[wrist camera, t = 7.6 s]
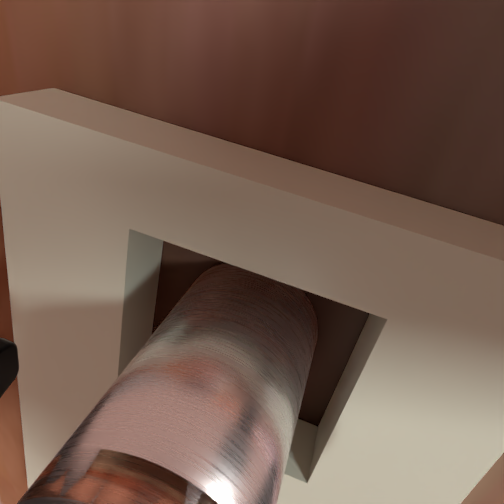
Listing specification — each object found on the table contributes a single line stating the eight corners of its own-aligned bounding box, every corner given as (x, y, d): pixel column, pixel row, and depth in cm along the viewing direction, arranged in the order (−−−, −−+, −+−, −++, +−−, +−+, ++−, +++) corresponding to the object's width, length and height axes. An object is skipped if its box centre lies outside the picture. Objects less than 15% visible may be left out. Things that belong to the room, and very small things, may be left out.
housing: (585, 251, 9) (631, 301, 7) (328, 607, 18) (321, 667, 16) (53, 87, 11) (-10, 97, 9) (62, 484, 20) (31, 526, 18)
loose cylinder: (337, 289, 11) (274, 586, 5) (296, 392, 13) (217, 690, 7) (197, 241, 12) (-6, 456, 6) (179, 346, 14) (15, 587, 8)
